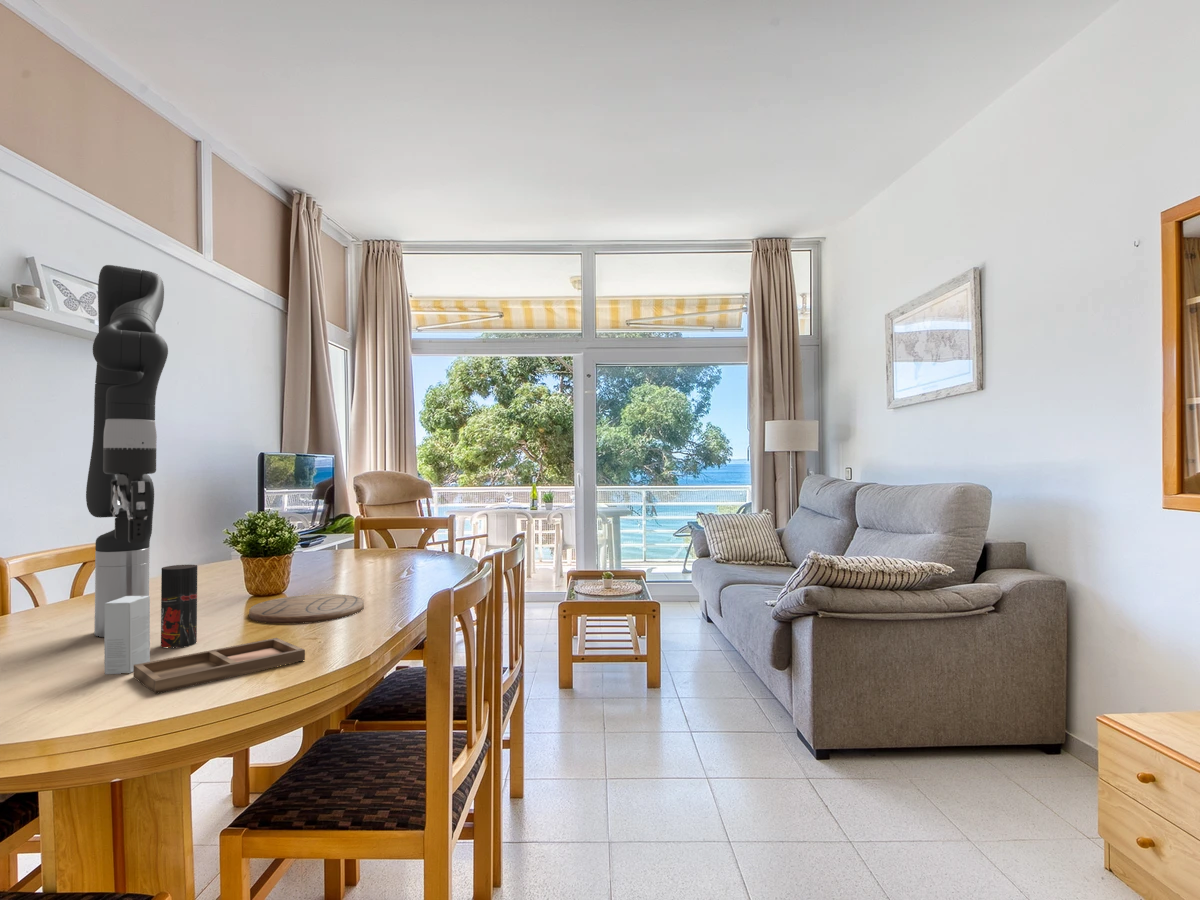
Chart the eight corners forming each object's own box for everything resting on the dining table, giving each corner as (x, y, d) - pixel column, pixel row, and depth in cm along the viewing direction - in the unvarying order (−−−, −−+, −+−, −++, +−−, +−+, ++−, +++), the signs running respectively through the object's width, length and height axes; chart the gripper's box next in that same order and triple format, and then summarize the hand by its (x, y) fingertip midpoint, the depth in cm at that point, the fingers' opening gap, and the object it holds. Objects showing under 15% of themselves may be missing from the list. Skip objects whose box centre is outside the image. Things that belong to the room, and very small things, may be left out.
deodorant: (203, 642, 133) (204, 565, 133) (173, 649, 127) (174, 570, 128) (184, 638, 135) (184, 563, 135) (153, 646, 130) (154, 568, 130)
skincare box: (124, 663, 119) (125, 595, 119) (150, 663, 119) (151, 595, 119) (102, 674, 113) (103, 602, 113) (129, 674, 113) (130, 602, 113)
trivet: (233, 627, 145) (233, 619, 146) (266, 603, 170) (266, 596, 170) (355, 622, 151) (355, 614, 151) (370, 599, 175) (370, 592, 175)
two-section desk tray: (133, 677, 111) (133, 664, 111) (276, 648, 128) (276, 637, 128) (155, 694, 103) (155, 680, 103) (304, 660, 120) (304, 649, 120)
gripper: (168, 446, 114) (167, 542, 114) (143, 447, 124) (142, 535, 124) (115, 445, 109) (114, 546, 109) (93, 446, 118) (92, 539, 118)
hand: (129, 540), depth 116 cm, fingers open, 8 cm apart
